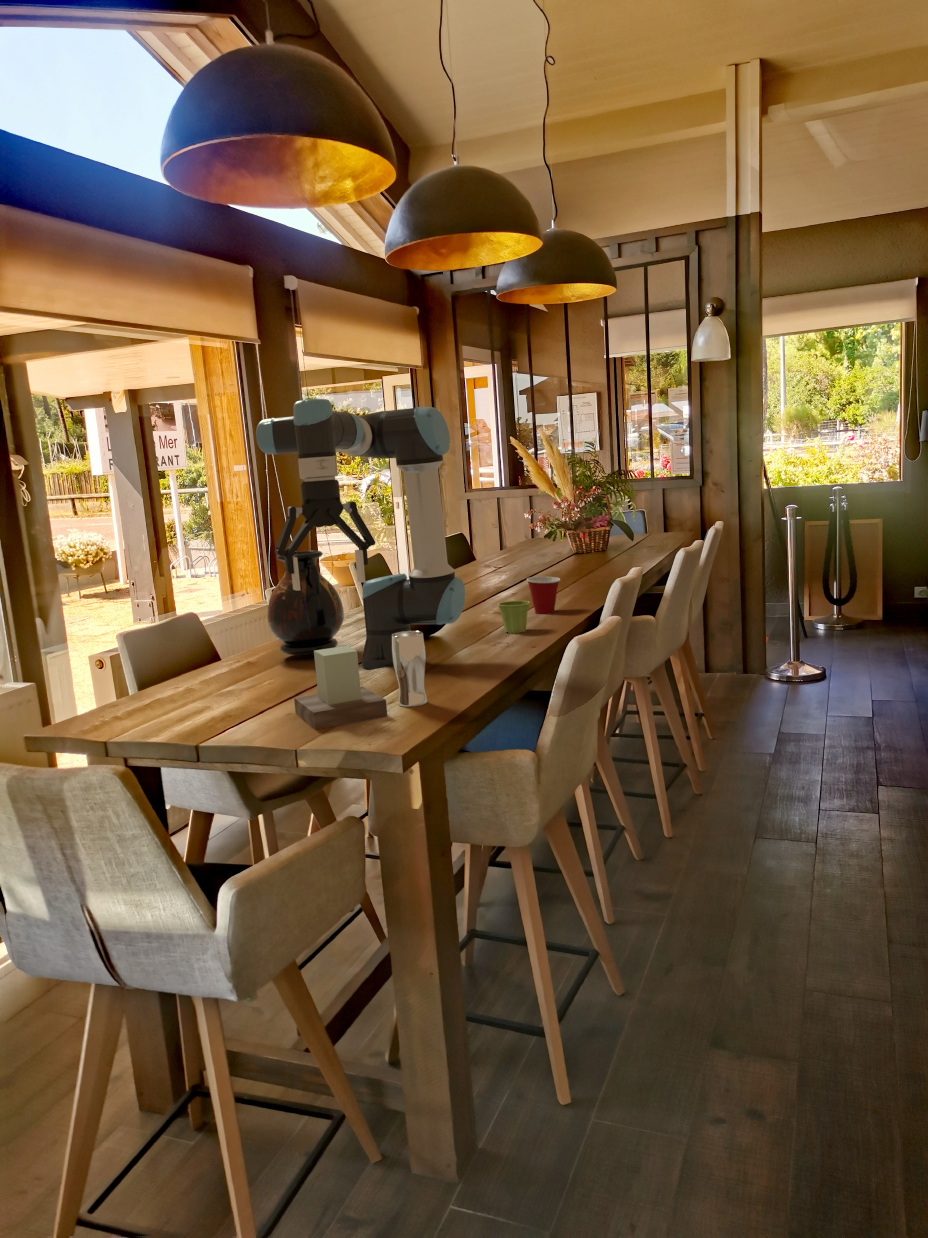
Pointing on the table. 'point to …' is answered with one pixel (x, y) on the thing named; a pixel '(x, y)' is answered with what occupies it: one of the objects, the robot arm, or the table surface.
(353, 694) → the sage block
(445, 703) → the table surface
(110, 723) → the table surface
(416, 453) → the robot arm
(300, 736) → the table surface
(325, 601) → the amphora vase
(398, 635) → the beer glass
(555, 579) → the plastic cup
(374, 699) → the walnut block
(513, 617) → the plant pot
